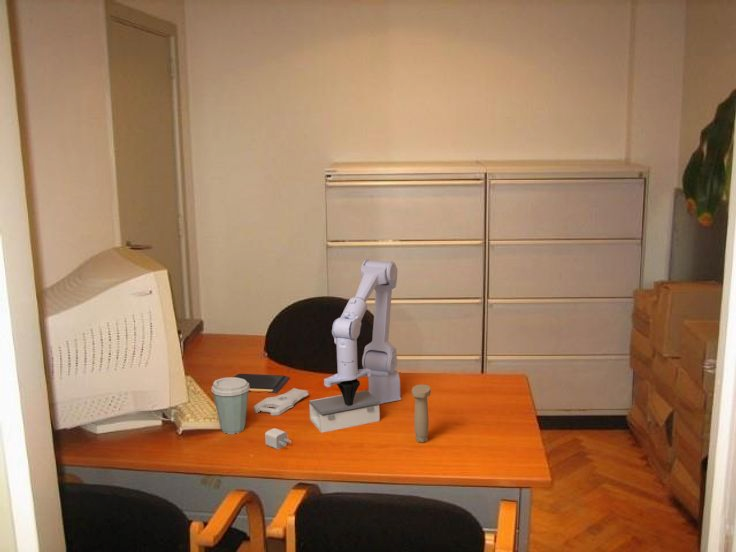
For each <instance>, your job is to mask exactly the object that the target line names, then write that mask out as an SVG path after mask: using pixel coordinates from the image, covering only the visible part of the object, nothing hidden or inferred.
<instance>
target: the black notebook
mask: <svg viewBox="0 0 736 552" xmlns="http://www.w3.org/2000/svg"><path fill="white" fill-rule="evenodd" d="M234 377H236V378H241V379H244V380H246V381H247V382H248V383H249V386H250V387H249V390H250V391H265V392H268V393H267V394H278V393H279V392H280V391H281V390H282V389H283V388H284V386H286V384H287V383H288V381H290V379H291V377H290V376H287V375H282V374H257V373H237V374H236V375H234Z"/></svg>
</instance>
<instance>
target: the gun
mask: <svg viewBox="0 0 736 552" xmlns="http://www.w3.org/2000/svg"><path fill="white" fill-rule="evenodd" d="M308 396H309V390H307V389H306V390H305V389H299V388H295V387H293V388H292V389H290V390H288V391H287V392H285V393H282V394H278V395H275V396H269V397H266V398H264V399H262V400H261V401H259V402H257V403H256V404H255V405H254V406H253V410H254V412H255V414H256V413H257V414H259V413H261V412H263V413H270V416H280V415H281V414H283V413H285V412H287V411H288V410H289V409H291V408H293V407H295V406H294V405H295V404H296V403H298V402H299V401H301V400H302V399H304V398H305V397H308ZM269 407H270V408H269ZM260 411H261V412H260ZM258 412H259V413H258Z"/></svg>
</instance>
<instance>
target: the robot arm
mask: <svg viewBox="0 0 736 552" xmlns="http://www.w3.org/2000/svg"><path fill="white" fill-rule="evenodd" d="M360 278H361V279H360V282H359V285H358V288H357V290H356V292H355V296H354V297H351V298H350V299H349V300H348V301H347V304H346V306H345V307H344V309H343V312H342V314H341V315H340V317H338V318H336V319H335V320H334V321H333V323H332V329H331V334H332V335H331V336H332V337H333V339H334V344H335V345H336V363H337V364H336V365H337V373H335V374H333V375H330V376H328V377H326V378H323V385H324V386H325V387H326V388H331V386H334V385H337V387H338V388H339V391H340V392H341V395H343V398H344V402H345V404H346V405H347V406H351V405H353V400H354V396H355V393H356V392H358V389H359V387H360V385H361V382H360V380H358V379H361V378H365V377H368V392H369V393H370V394H372V395H373V396H374V397H376V398H377V399H378V400H380V404H379V405H382V404H387V403H391V402H392V403H393V402H396V401H401V400H402V398H401V378H400V375H399V372H398V371H397V370H396V369H397V366H398V357H397V348H396V347H395V346H393V344H392V343H390V341H389V338H390V337H389V335H390V322H391V306H392V296H393V295H392V294H393V289H395V288H397V284H398V283H397V282H398V267H397V265H396V263H395V262H394V261H393V260H392V261H391V260H390V261H383V260H382V261H381V260H369V259H365V260H364V261H363V262H362V264H361V266H360ZM374 290H375V299H374V311H373V312H374V314H373V324H372V325H373V327H372V338H371V339H372V340H371V342H369V343H368V344H366V345H365V346H364V350H363V354H362V357H361V358H362V359H361V365H362V368H359V367H358V346H357V345H358V344H357V343H358V340H357V339H358V338H359V336H360V333H361V327H362V320H363V318H364V315H365V313H366V311H367V309H368V305H367V303H366V302H367V301H368V300H369V298H370V296H371V294H373V291H374ZM358 368H359V369H358Z"/></svg>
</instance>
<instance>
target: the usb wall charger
mask: <svg viewBox="0 0 736 552" xmlns="http://www.w3.org/2000/svg"><path fill="white" fill-rule="evenodd" d="M264 439H265V445H266V446H267V447H271V448H272V449H275V450H279V449H282V448H284V447H286V446H287V445H288V443H289V444H291V443H292V440H291V439H289V438H288V433H287V432H286V431H284V430H281V429H279V428H275V427H274V428H271V429H269V430H267V431H266V432H265V433H264Z"/></svg>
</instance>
